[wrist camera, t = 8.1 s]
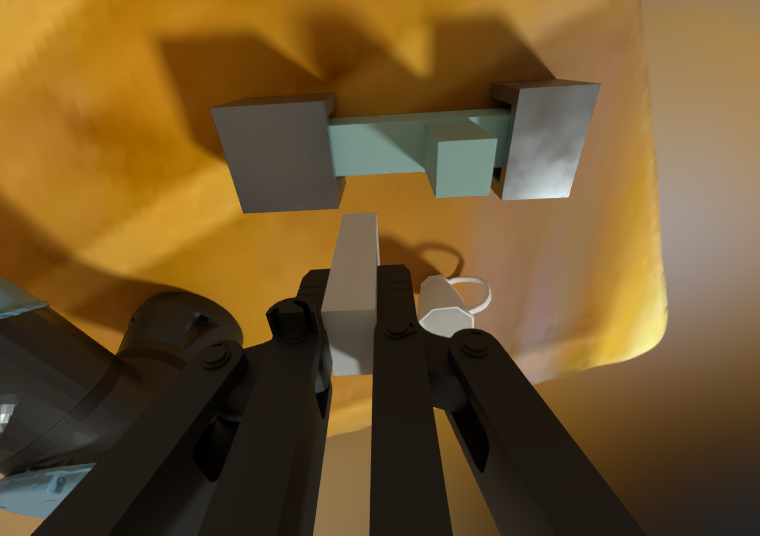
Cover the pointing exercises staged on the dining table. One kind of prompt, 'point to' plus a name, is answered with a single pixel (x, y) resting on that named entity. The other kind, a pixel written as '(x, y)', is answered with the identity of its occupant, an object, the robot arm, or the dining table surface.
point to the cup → (447, 305)
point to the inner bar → (425, 147)
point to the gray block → (280, 152)
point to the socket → (542, 136)
